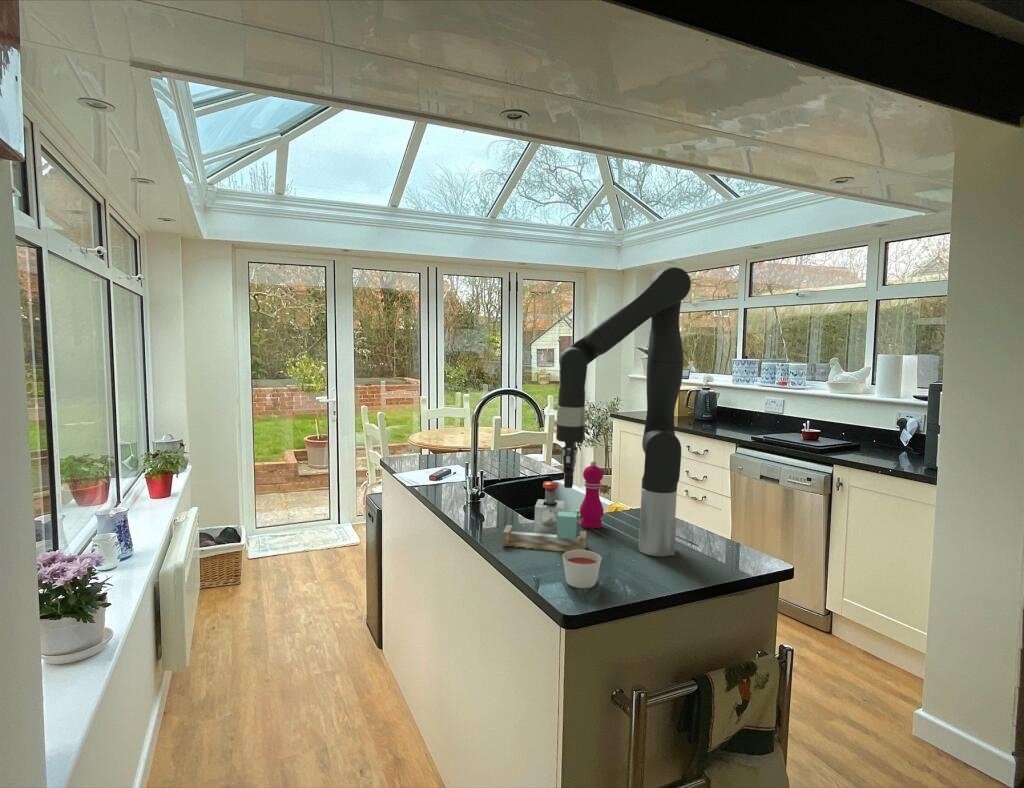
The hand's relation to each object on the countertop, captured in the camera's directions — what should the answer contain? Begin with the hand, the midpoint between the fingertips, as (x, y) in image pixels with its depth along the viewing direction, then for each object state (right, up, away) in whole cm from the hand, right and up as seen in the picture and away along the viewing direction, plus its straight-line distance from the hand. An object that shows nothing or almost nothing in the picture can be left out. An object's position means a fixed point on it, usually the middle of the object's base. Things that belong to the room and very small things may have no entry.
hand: (568, 486), depth 162 cm
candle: (+1, -20, -20) cm, 28 cm away
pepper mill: (+9, -15, +21) cm, 27 cm away
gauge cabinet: (-4, -15, +16) cm, 22 cm away
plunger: (-4, -10, +15) cm, 19 cm away
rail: (-6, -17, +3) cm, 18 cm away
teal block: (0, -14, +2) cm, 14 cm away
